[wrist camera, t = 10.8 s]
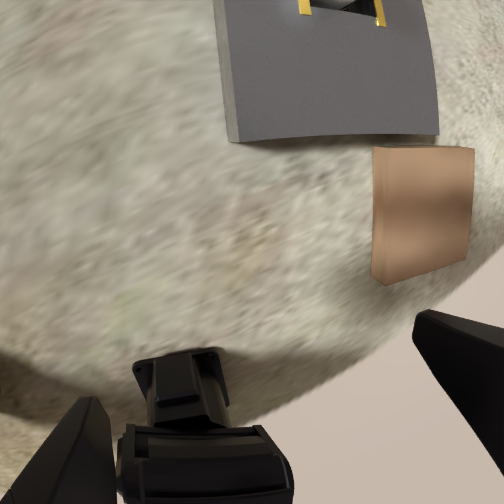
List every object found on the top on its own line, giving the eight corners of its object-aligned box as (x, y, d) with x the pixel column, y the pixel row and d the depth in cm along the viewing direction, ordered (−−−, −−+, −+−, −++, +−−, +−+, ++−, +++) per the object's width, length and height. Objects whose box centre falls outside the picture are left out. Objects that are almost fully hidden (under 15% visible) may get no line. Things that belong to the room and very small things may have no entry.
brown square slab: (451, 251, 26) (465, 259, 24) (370, 275, 24) (384, 286, 22) (457, 146, 22) (474, 148, 20) (372, 146, 20) (389, 148, 18)
